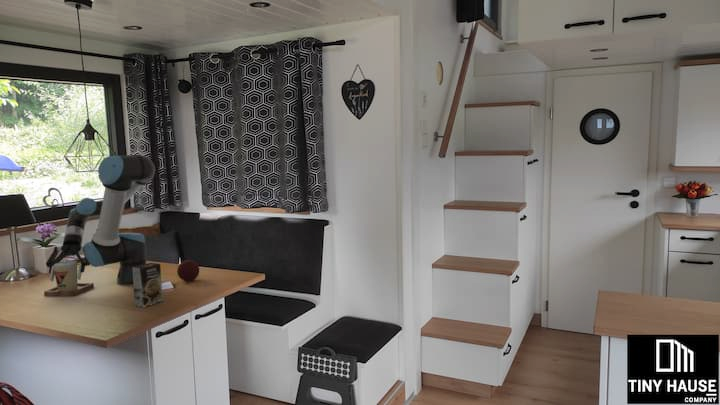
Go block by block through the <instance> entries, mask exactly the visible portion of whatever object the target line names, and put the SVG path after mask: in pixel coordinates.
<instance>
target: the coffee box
mask: <svg viewBox="0 0 720 405" xmlns="http://www.w3.org/2000/svg"><path fill="white" fill-rule="evenodd" d="M132 268H133V284H132V285H133V296H134V306H136V305H139V306H138V307H140V306H143V307H144V306H147V305H150V304H154V303H157V302H160V303H162V302H161V301H164V300H163V287H162V286H163V284H162V269H161V263H156V262H155V263H154V262H148V263H146V264H144V265H139V266H135V267H132ZM157 304H158V303H157ZM154 305H155V304H154ZM143 307H142V308H143ZM144 308H145V307H144Z"/></svg>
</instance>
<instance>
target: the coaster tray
mask: <svg viewBox="0 0 720 405" xmlns="http://www.w3.org/2000/svg"><path fill="white" fill-rule="evenodd" d="M77 284H78V285H77V289H76V290H73V291H58V288H57V285H56V286H54V287H51V288H50V289H47V290H44V291H43V294H44V295H43V296H44V297H76V296H78V295H81V294H83V293H85V292H87V291H89V290H91V289H94V288H95V285H94V284H95V283H94V282H93V283H92V282H77Z"/></svg>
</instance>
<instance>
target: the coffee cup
mask: <svg viewBox="0 0 720 405" xmlns="http://www.w3.org/2000/svg"><path fill="white" fill-rule="evenodd" d="M54 271H55V275H54V278H55V281H56V286H57V288H58V291H73V290H76V289H77V285H78V284H77V283H78V278H77V274H78V262H77V261H75V260H68V261H67V260H66V261H60V262H59V263H56V264H54Z"/></svg>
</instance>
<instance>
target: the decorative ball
mask: <svg viewBox="0 0 720 405" xmlns="http://www.w3.org/2000/svg"><path fill="white" fill-rule="evenodd" d="M176 272H177V276H178V277H179V279H180V280H182V281H185V282H191V281H194V280H195V279H197V278H198V276H199V274H200V266H199V264H198V263H197V262H196V261H195V260H191V259H186V260H183V261H181V262H180V264H179V265H178V266H177V271H176Z"/></svg>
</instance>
